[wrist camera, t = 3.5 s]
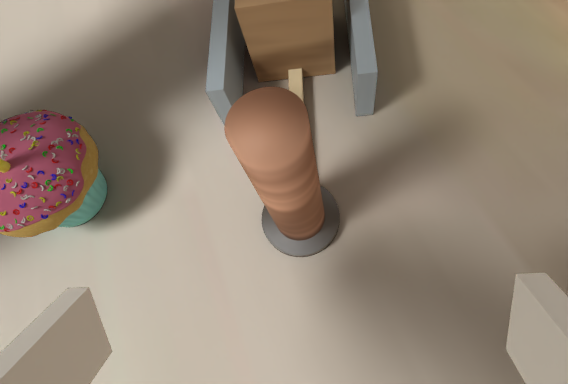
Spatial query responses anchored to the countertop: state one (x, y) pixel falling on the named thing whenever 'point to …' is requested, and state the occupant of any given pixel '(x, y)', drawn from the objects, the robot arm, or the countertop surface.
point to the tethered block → (285, 120)
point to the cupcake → (47, 174)
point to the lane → (230, 48)
